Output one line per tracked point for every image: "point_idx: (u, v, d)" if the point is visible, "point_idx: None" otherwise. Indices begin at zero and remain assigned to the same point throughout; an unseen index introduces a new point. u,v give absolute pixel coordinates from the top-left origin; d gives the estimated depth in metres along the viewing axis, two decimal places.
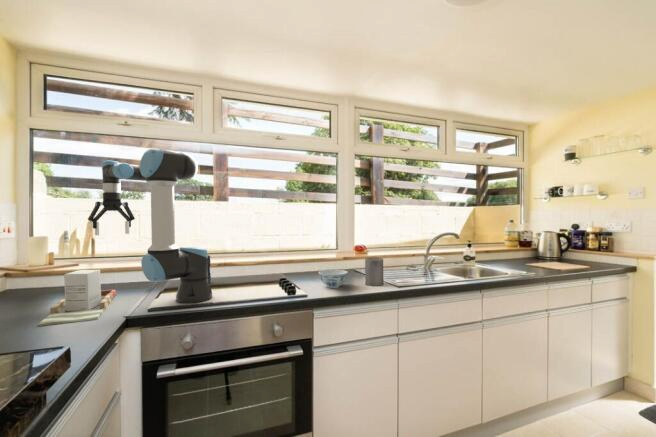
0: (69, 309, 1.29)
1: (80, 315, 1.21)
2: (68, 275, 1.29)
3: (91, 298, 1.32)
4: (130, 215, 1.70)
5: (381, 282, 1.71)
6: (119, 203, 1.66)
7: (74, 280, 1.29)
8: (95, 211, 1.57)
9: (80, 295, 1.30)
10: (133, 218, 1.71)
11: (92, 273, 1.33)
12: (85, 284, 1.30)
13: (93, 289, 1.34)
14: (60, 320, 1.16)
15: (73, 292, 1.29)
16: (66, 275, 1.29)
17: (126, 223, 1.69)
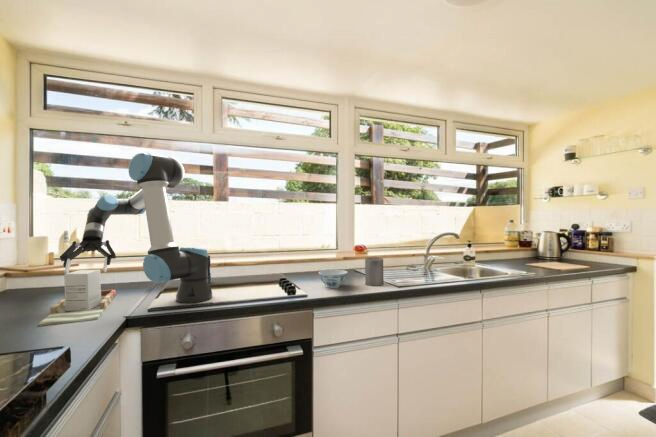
0: (69, 309, 1.29)
1: (80, 315, 1.21)
2: (68, 275, 1.29)
3: (91, 298, 1.32)
4: (110, 251, 1.49)
5: (381, 282, 1.71)
6: (98, 241, 1.51)
7: (74, 279, 1.29)
8: (68, 249, 1.44)
9: (80, 294, 1.30)
10: (113, 253, 1.48)
11: (92, 273, 1.33)
12: (85, 284, 1.30)
13: (93, 289, 1.34)
14: (60, 320, 1.16)
15: (73, 292, 1.29)
16: (66, 275, 1.29)
17: None
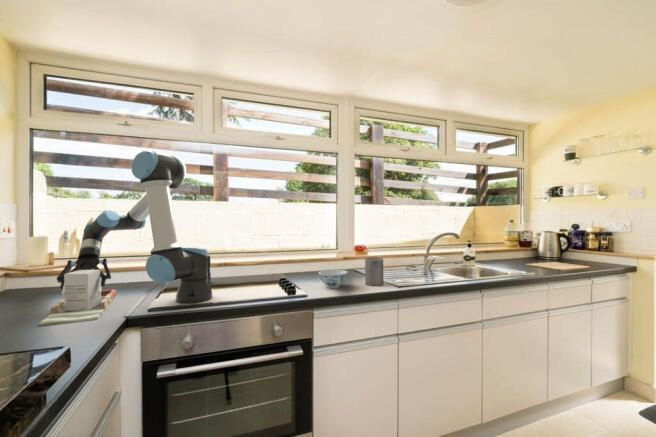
0: (69, 309, 1.29)
1: (80, 315, 1.21)
2: (68, 275, 1.29)
3: (91, 298, 1.32)
4: (105, 271, 1.40)
5: (381, 282, 1.71)
6: (95, 259, 1.42)
7: (74, 279, 1.29)
8: (64, 269, 1.35)
9: (80, 294, 1.30)
10: (108, 274, 1.39)
11: (92, 273, 1.33)
12: (85, 284, 1.30)
13: (93, 289, 1.33)
14: (60, 320, 1.16)
15: (73, 292, 1.29)
16: (66, 275, 1.29)
17: None
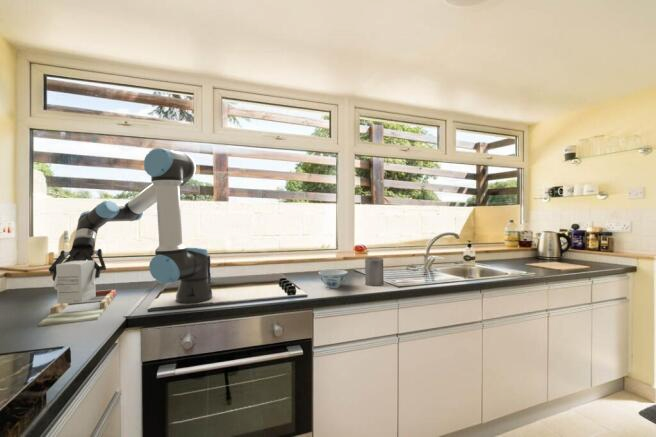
0: (61, 301, 1.23)
1: (80, 315, 1.21)
2: (60, 265, 1.23)
3: (85, 290, 1.26)
4: (100, 262, 1.33)
5: (381, 282, 1.71)
6: (90, 250, 1.36)
7: (67, 270, 1.23)
8: (57, 260, 1.29)
9: (73, 286, 1.23)
10: (102, 265, 1.33)
11: (85, 264, 1.27)
12: (78, 275, 1.23)
13: (87, 281, 1.27)
14: (60, 320, 1.16)
15: (66, 284, 1.23)
16: (58, 265, 1.23)
17: None
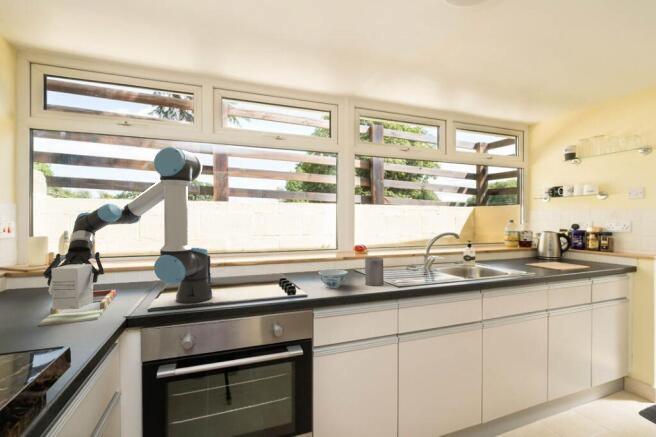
0: (57, 307, 1.17)
1: (80, 315, 1.21)
2: (56, 270, 1.16)
3: (82, 296, 1.20)
4: (98, 266, 1.27)
5: (381, 282, 1.71)
6: (87, 253, 1.29)
7: (63, 275, 1.16)
8: (52, 264, 1.22)
9: (69, 291, 1.17)
10: (100, 269, 1.26)
11: (83, 268, 1.20)
12: (74, 279, 1.17)
13: (84, 286, 1.21)
14: (60, 320, 1.16)
15: (62, 289, 1.17)
16: (53, 270, 1.16)
17: None
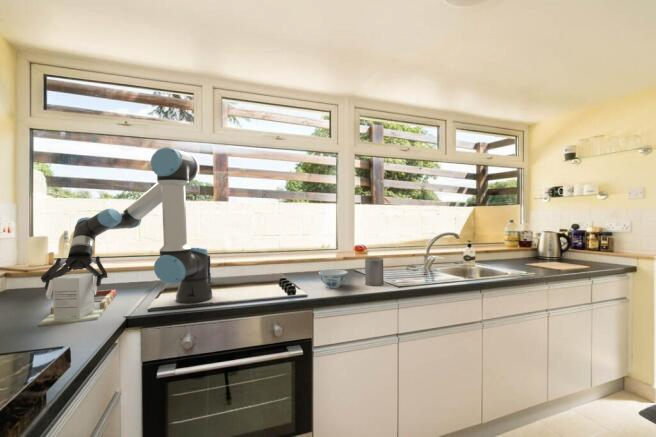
0: (58, 317, 1.17)
1: None
2: (57, 279, 1.17)
3: (83, 305, 1.20)
4: (101, 270, 1.28)
5: (381, 282, 1.71)
6: (87, 258, 1.29)
7: (64, 284, 1.17)
8: (51, 268, 1.22)
9: (71, 301, 1.17)
10: (104, 272, 1.27)
11: (84, 277, 1.21)
12: (76, 289, 1.17)
13: (85, 295, 1.21)
14: (60, 320, 1.16)
15: (63, 298, 1.17)
16: (55, 279, 1.16)
17: None
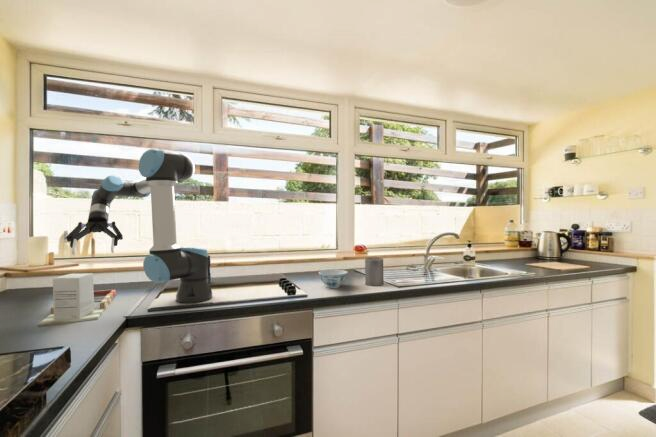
0: (58, 317, 1.17)
1: None
2: (57, 279, 1.17)
3: (83, 305, 1.20)
4: (117, 232, 1.47)
5: (381, 282, 1.71)
6: (104, 223, 1.49)
7: (64, 284, 1.17)
8: (74, 230, 1.41)
9: (71, 301, 1.17)
10: (120, 234, 1.47)
11: (84, 277, 1.21)
12: (76, 289, 1.17)
13: (85, 295, 1.21)
14: (60, 320, 1.16)
15: (63, 298, 1.17)
16: (55, 279, 1.16)
17: (112, 241, 1.44)
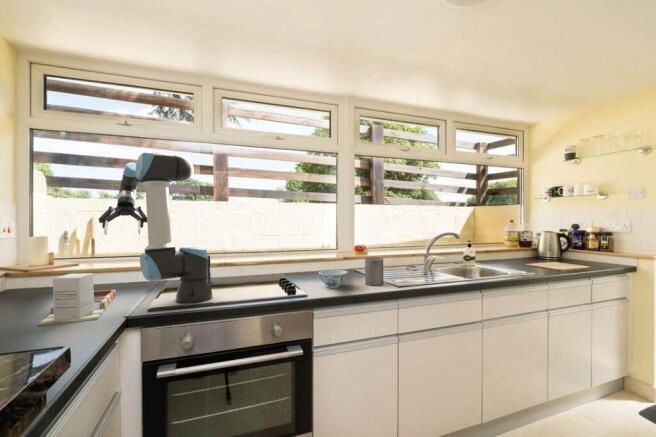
0: (58, 317, 1.17)
1: None
2: (57, 279, 1.17)
3: (83, 305, 1.20)
4: (142, 216, 1.63)
5: (381, 282, 1.71)
6: (131, 207, 1.64)
7: (64, 284, 1.17)
8: (105, 213, 1.57)
9: (71, 301, 1.17)
10: (145, 218, 1.62)
11: (84, 277, 1.21)
12: (76, 289, 1.17)
13: (85, 295, 1.21)
14: (60, 320, 1.16)
15: (63, 298, 1.17)
16: (55, 279, 1.16)
17: None
